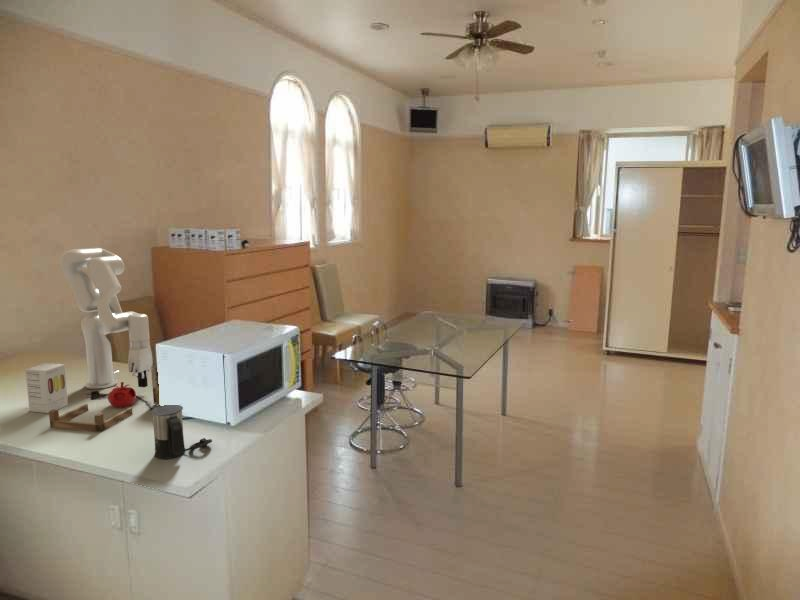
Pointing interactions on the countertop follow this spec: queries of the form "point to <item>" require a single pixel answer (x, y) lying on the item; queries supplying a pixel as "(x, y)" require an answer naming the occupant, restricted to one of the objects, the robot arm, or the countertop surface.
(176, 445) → the milk frother
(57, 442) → the countertop surface
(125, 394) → the red tomato
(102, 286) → the robot arm
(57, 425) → the display stand
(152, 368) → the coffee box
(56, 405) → the supplement box
